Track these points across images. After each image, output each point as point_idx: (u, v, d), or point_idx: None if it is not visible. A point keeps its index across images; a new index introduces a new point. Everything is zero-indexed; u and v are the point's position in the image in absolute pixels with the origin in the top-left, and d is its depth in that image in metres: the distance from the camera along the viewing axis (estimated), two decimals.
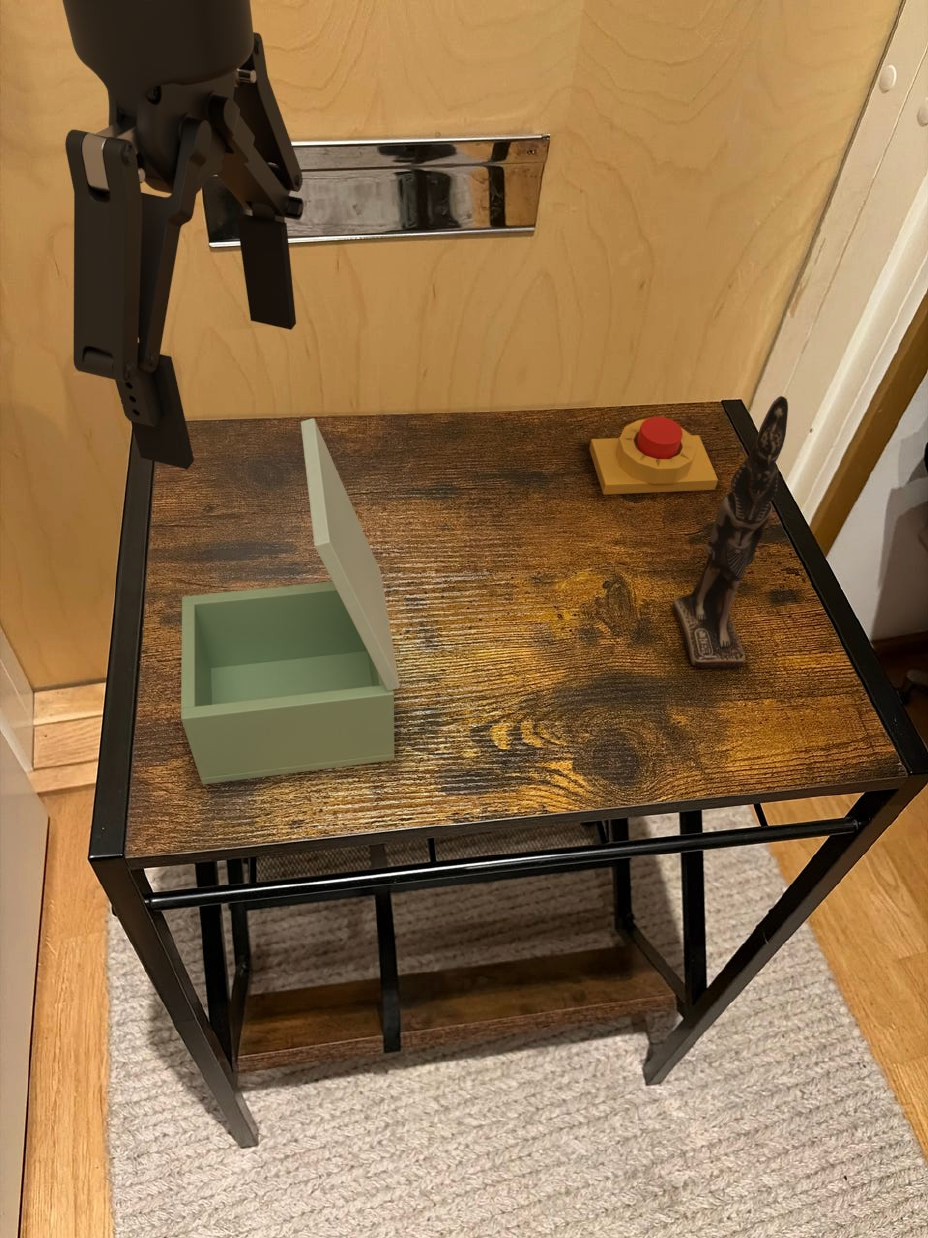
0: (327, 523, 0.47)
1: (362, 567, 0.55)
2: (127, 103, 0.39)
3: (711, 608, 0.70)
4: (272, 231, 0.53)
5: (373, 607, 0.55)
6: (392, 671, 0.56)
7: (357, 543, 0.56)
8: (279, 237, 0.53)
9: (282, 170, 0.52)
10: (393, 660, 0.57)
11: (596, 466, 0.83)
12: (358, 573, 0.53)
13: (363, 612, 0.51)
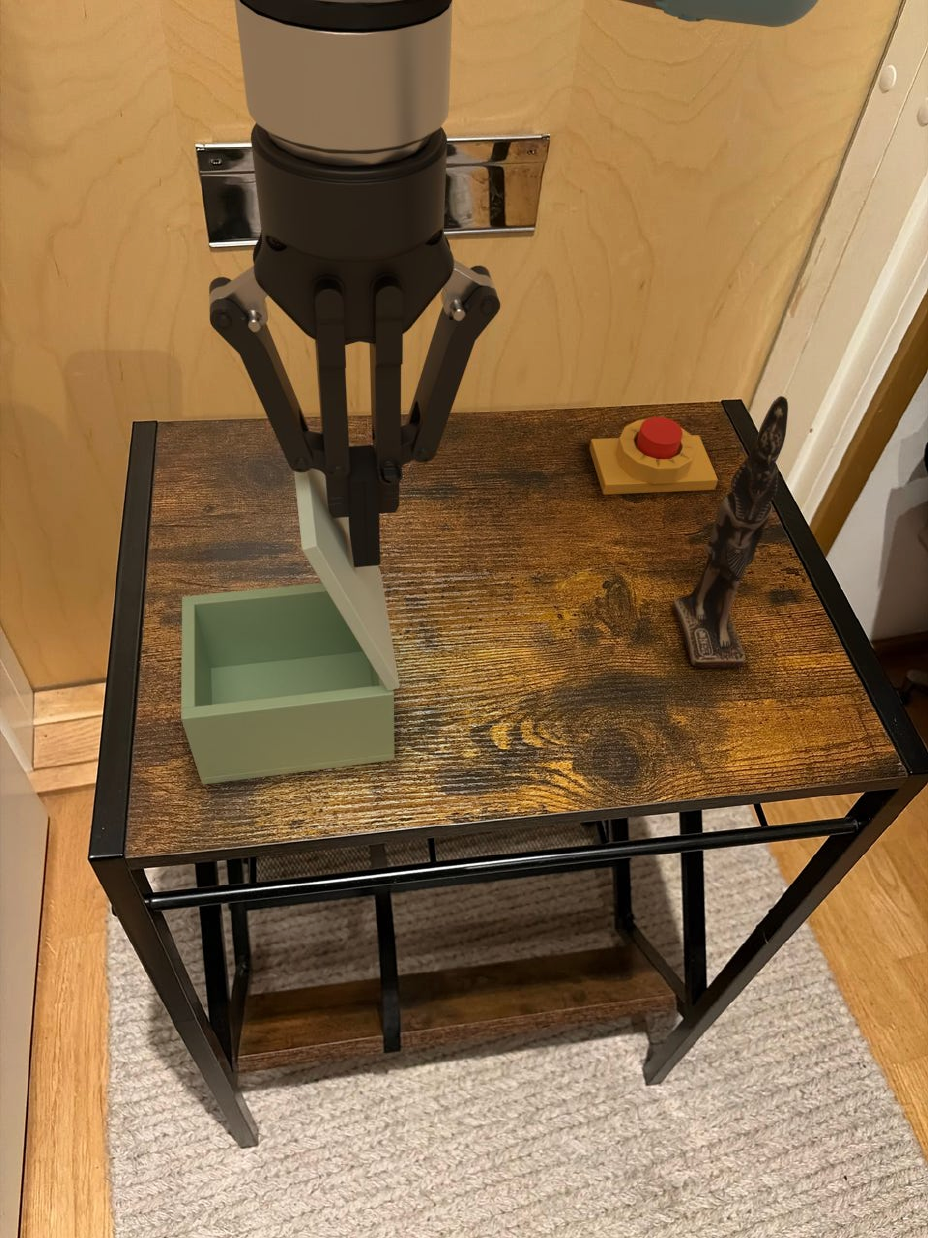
0: (315, 526, 0.47)
1: (357, 568, 0.55)
2: None
3: (711, 608, 0.70)
4: None
5: (369, 608, 0.55)
6: (391, 671, 0.56)
7: None
8: None
9: (418, 425, 0.47)
10: (392, 660, 0.57)
11: (596, 466, 0.83)
12: (352, 575, 0.53)
13: (356, 614, 0.51)
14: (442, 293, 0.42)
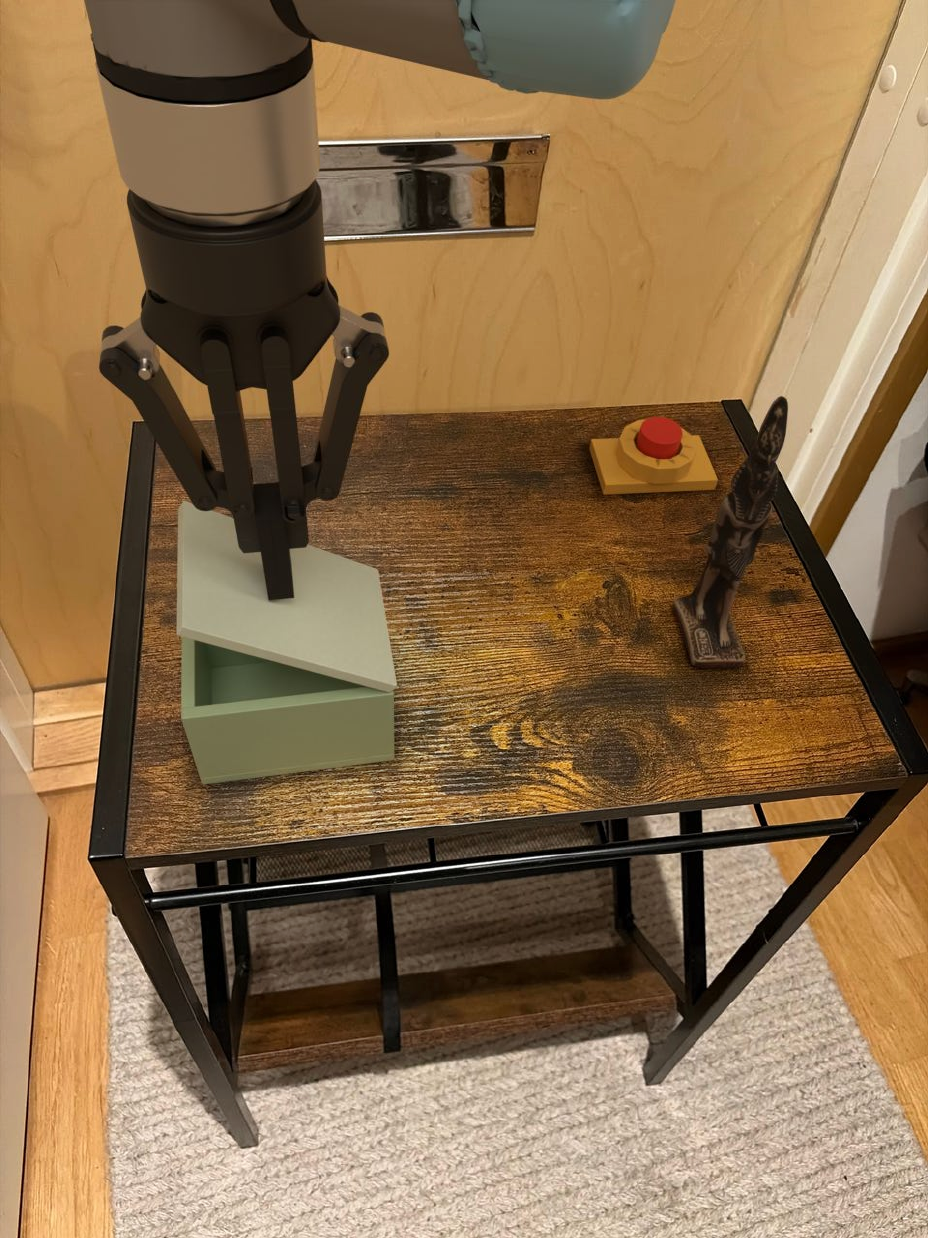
0: (184, 607, 0.50)
1: (301, 599, 0.56)
2: None
3: (711, 608, 0.70)
4: None
5: (325, 630, 0.56)
6: (373, 678, 0.56)
7: (293, 577, 0.57)
8: None
9: (320, 465, 0.48)
10: (383, 662, 0.57)
11: (596, 466, 0.83)
12: (281, 614, 0.54)
13: (283, 654, 0.52)
14: (334, 339, 0.43)
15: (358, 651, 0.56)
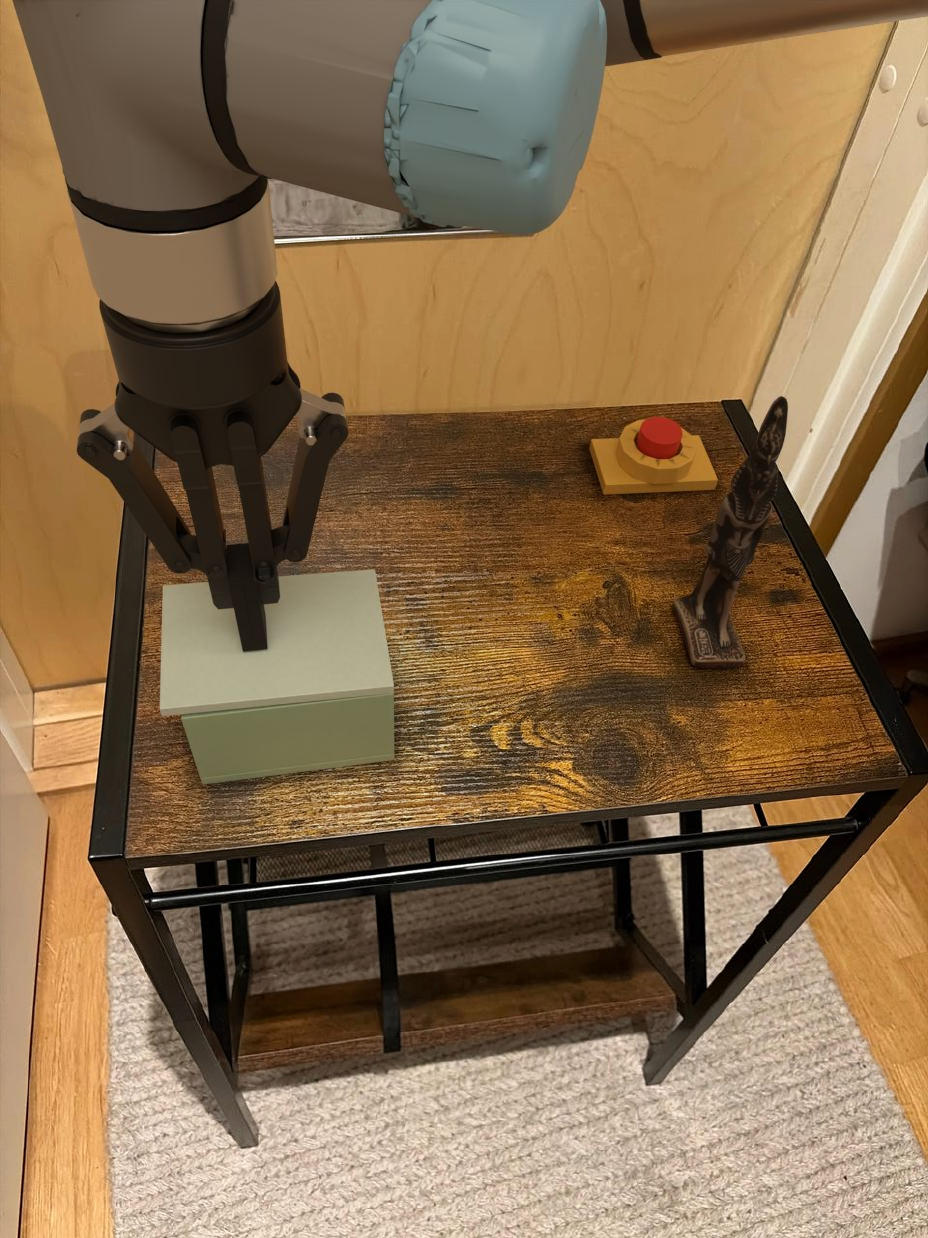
0: (161, 689, 0.55)
1: (284, 635, 0.58)
2: None
3: (711, 608, 0.70)
4: None
5: (311, 657, 0.57)
6: (365, 687, 0.56)
7: (277, 616, 0.59)
8: None
9: (288, 530, 0.51)
10: (377, 667, 0.57)
11: (596, 466, 0.83)
12: (262, 659, 0.57)
13: (264, 698, 0.55)
14: (297, 419, 0.46)
15: (348, 665, 0.57)
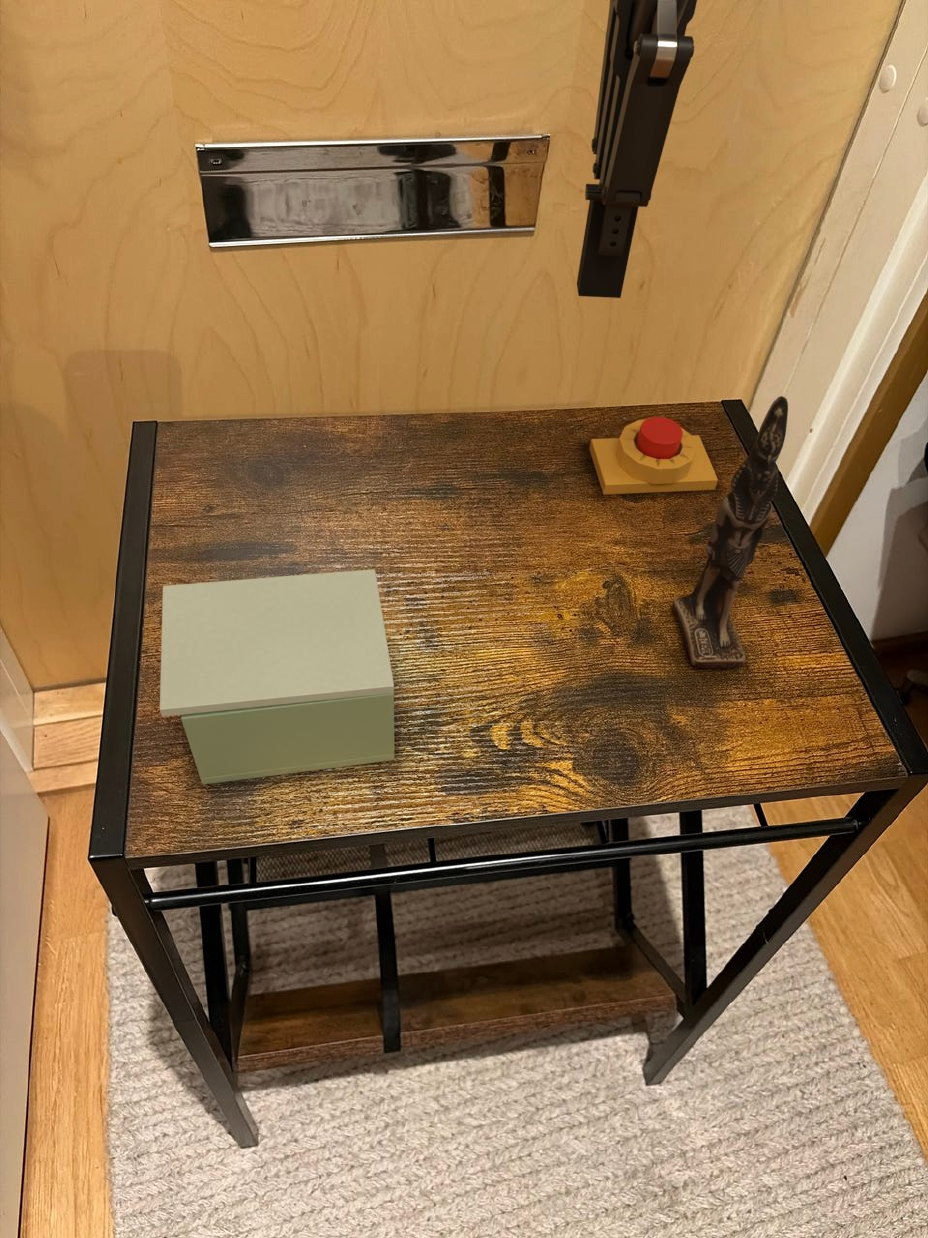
0: (161, 690, 0.55)
1: (284, 635, 0.58)
2: None
3: (711, 608, 0.70)
4: None
5: (311, 657, 0.57)
6: (365, 687, 0.56)
7: (277, 616, 0.59)
8: None
9: None
10: (377, 667, 0.57)
11: (596, 466, 0.83)
12: (262, 659, 0.57)
13: (264, 698, 0.55)
14: None
15: (348, 665, 0.57)
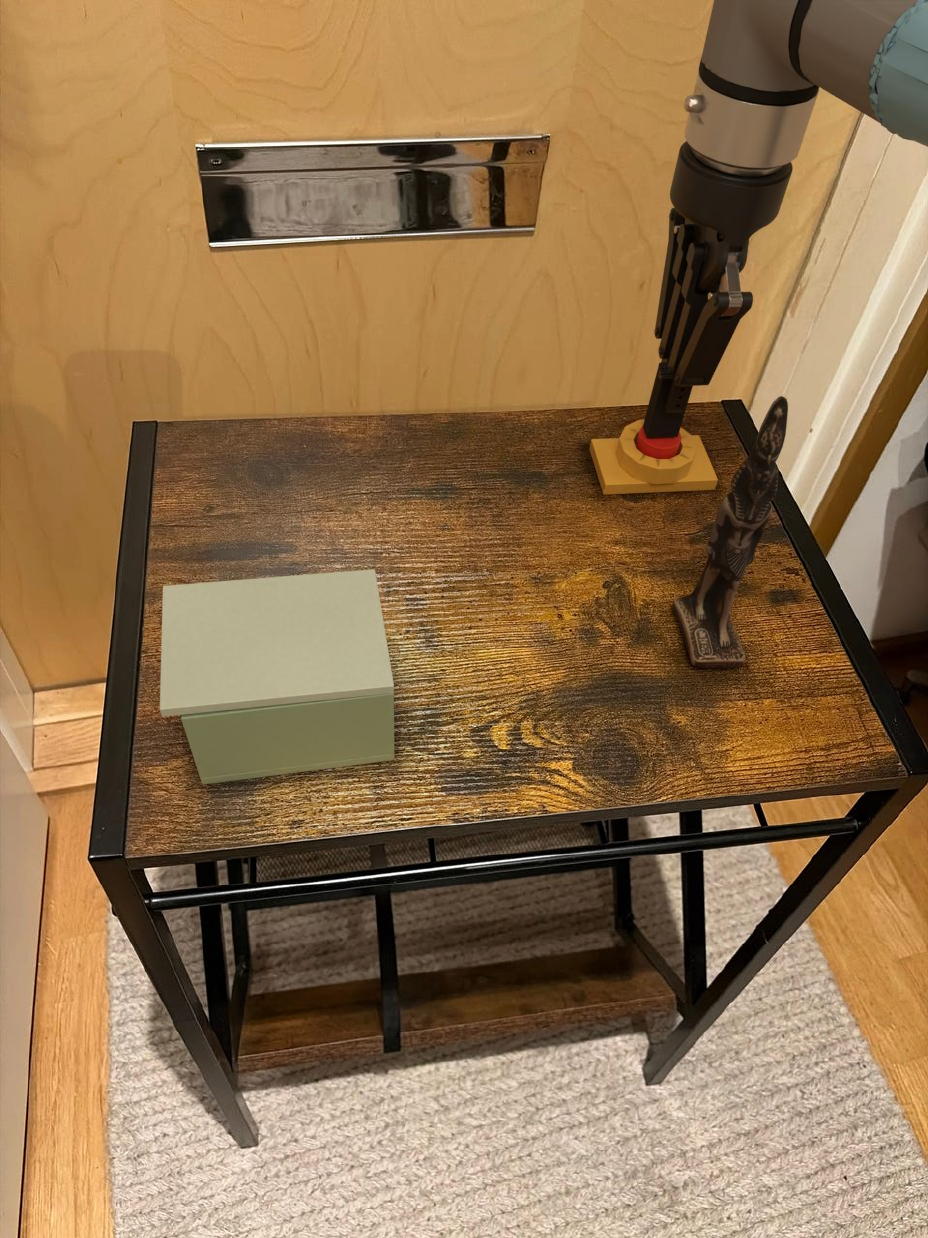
0: (161, 690, 0.55)
1: (284, 635, 0.58)
2: (736, 244, 0.63)
3: (711, 608, 0.70)
4: None
5: (311, 657, 0.57)
6: (365, 687, 0.56)
7: (277, 616, 0.59)
8: None
9: None
10: (377, 667, 0.57)
11: (596, 466, 0.83)
12: (262, 659, 0.57)
13: (264, 698, 0.55)
14: None
15: (348, 665, 0.57)
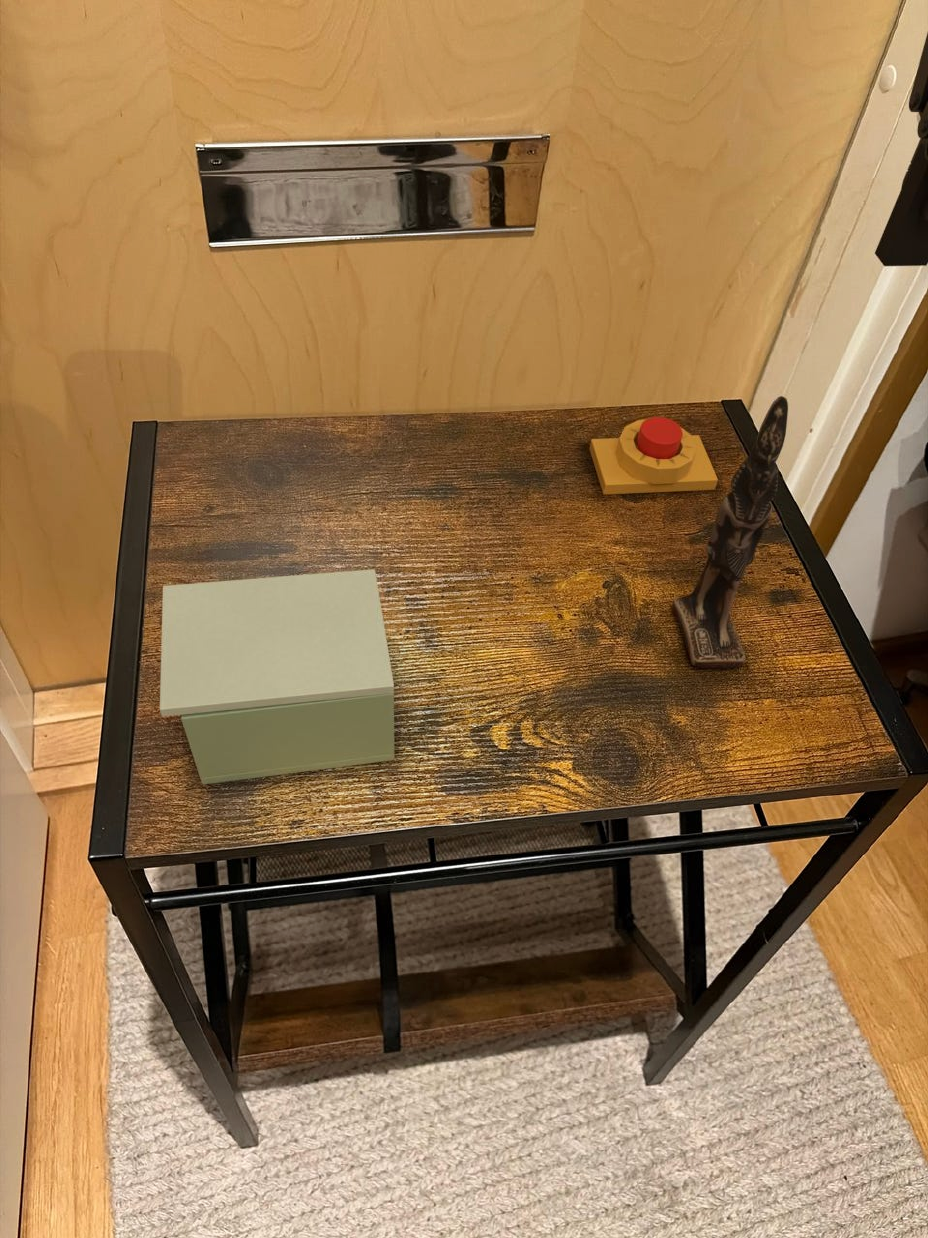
0: (161, 690, 0.55)
1: (284, 635, 0.58)
2: None
3: (711, 608, 0.70)
4: None
5: (311, 657, 0.57)
6: (365, 687, 0.56)
7: (277, 616, 0.59)
8: None
9: None
10: (377, 667, 0.57)
11: (596, 466, 0.83)
12: (262, 659, 0.57)
13: (264, 698, 0.55)
14: None
15: (348, 665, 0.57)
